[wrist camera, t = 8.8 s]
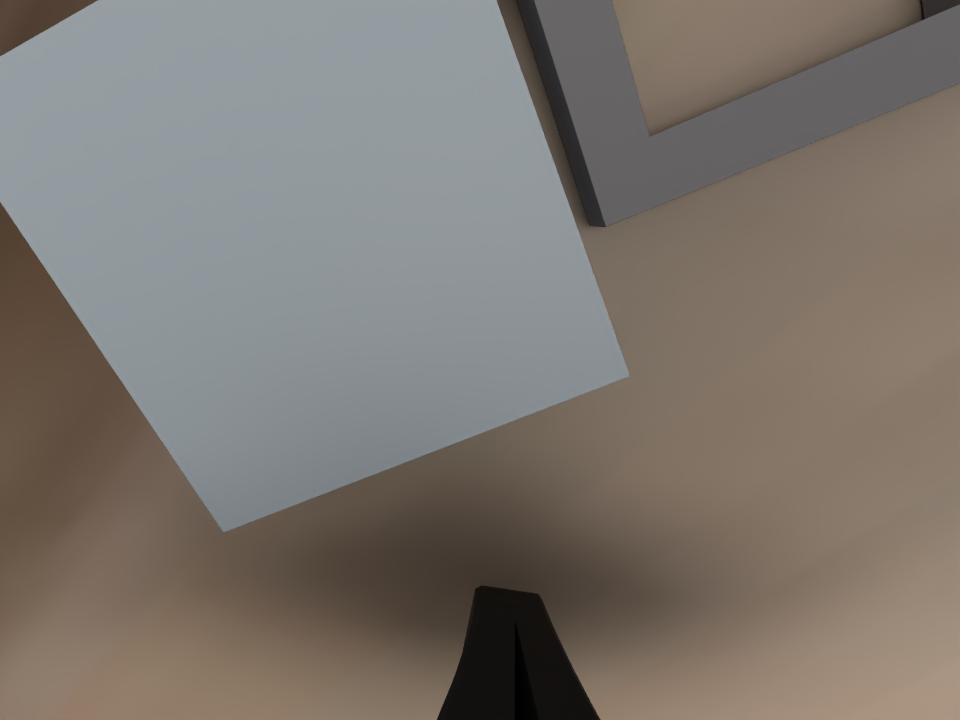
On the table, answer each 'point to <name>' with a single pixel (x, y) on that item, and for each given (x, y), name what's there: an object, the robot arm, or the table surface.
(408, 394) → the plate
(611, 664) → the table surface
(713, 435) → the table surface
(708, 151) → the socket
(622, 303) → the table surface
